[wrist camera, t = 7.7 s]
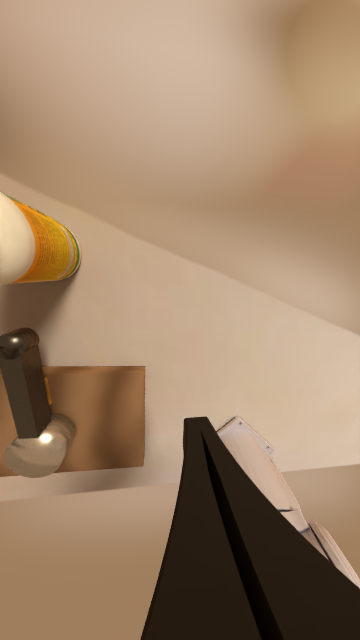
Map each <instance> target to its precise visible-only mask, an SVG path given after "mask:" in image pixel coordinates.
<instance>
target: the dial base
mask: <svg viewBox="0 0 360 640" xmlns="http://www.w3.org/2000/svg"><path fill="white" fill-rule="evenodd" d="M42 370H43V375H44V381H45V386H46V392H47V397H48V403H49V408H50V412H54V413H60V414H63V415H65V416H67V417H68V418H70V419H71V420H72V421H73V422H74V424H75V426H76V430H77V432H76V436H75V438H74V440H73V442H72V444H71V446H70V448H69V449H68V451H67V453H66V455H65V457H64V459H63V461H62V463H61V465H60V467H59V468H58V469H57V470H56V471H55V472H54V473H59V472H73V471H86V470H100V469H113V468H127V467H140V466H143V464H144V444H145V366H72V367H42ZM17 436H18V435H17V431H16V427H15V423H14V419H13V415H12V411H11V408H10V404H9V400H8V396H7V392H6V388H5V384H4V381H3V377H2V373H1V369H0V477H5V476H19V475H18V474H16V473H14V472H12V471H11V470H10V469H9V468H8V467H7V466H6V464H5V463H4V459H3V455H4V451H5V450H6V448H7V447H8V446H9V445H10V444H11V442H12V441H13V440H14V439H15V438H16V437H17Z"/></svg>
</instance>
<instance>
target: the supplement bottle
mask: <svg viewBox="0 0 360 640" xmlns="http://www.w3.org/2000/svg"><path fill="white" fill-rule="evenodd" d="M80 262H81V249H80V245H79V242H78V240H77V239H76V237H75V236H74V234H73V233H72V232H71V231H70V230H69V229H68V228H67V227H66V226H64V225H63V224H62V223H60V222H58V221H56V220H55V219H53V218H51V217H49V216H47V215H45V214H43V213H41V212H39V211H37V210H35V209H33V208H31V207H29V206H27V205H25V204H23V203H21V202H19V201H17V200H15V199H14V198H12V197H10V196H8V195H6V194H4V193H2V192H0V285H1V284H14V283H28V282H43V281H57V280H63V279H66V278H68V277H70V276H71V275H72V274H73V273H74V272H75V271H76V270H77V268H78V267H79V265H80Z"/></svg>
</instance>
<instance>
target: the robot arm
mask: <svg viewBox="0 0 360 640" xmlns="http://www.w3.org/2000/svg"><path fill="white" fill-rule="evenodd" d="M183 451H184V459H183V467H182V473H181V480H180V486H179V491H178V496H177V501H176V506H175V511H174V516H173V520H172V525H171V529H170V533H169V538H168V542H167V545H166V549H165V553H164V557H163V561H162V565H161V569H160V572H159V576H158V580H157V584H156V587H155V591H154V594H153V598H152V601H151V605H150V608H149V612H148V615H147V619H146V622H145V626H144V629H143V633H142V636H141V640H360V579H359V578H358V576H357V575H356V573H355V571H354V570H353V568H352V567H351V565H350V564H349V562H348V561H347V559H346V558H345V556H344V555H343V553H342V552H341V550H340V549H339V547H338V546H337V544H336V543H335V541H334V540H333V538H332V537H331V536H330V534H329V533H328V532H327V530H326V529H325V528H324V527H323V526H321V525H319V524H317V523H316V522H315V521H314V520H311V521H308V524H309V526H310V528H311V530H312V531H311V530H310V528H309V526H308V524H307V523H306V521H305V520H304V518H303V515H302V512H301V508H300V506H299V504H298V502H297V500H296V498H295V496H294V495H293V493H292V491H291V490H290V488H289V486H288V485H287V483H286V481H285V479H284V478H283V476H282V475H281V473H280V471H279V469H278V468H277V466H276V464H275V463H274V461H273V459H272V458H271V456H270V454H271V453H272V452H273V451H274V449H273V447H272V446H271V445H270V444H269V443H267V442H266V441H265V440H264V439H263V438H262V437H261V436H260V435H258V434H257V433H256V432H255V431H254V430H253V429H252V428H251V427H249V426H248V425H247V424H246V423H245V422H244V421H243V420H241V419H240V418H239V417H235V418H234V419H233V420H232V421H230V422H229V423H228V424H227V425H225V426H224V427H223V428H222V429H220V430H219V431H218V432H216V431H215V429H214V428H213V426H212V424H211V423H210V421H209V419H208V418H207V417H194V418H185V419H184V431H183ZM312 532H313V533H312Z"/></svg>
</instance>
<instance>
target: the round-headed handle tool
mask: <svg viewBox="0 0 360 640" xmlns="http://www.w3.org/2000/svg"><path fill="white" fill-rule="evenodd" d="M38 344H39V336H38V334H37V333H36V332H35V331H34V330H32V329H30V328H20V329H17V330H14V331H12V332H9V333H7V334H4V335H2V336H0V369H1V373H2V377H3V381H4V384H5V388H6V392H7V396H8V400H9V404H10V408H11V411H12V415H13V419H14V423H15V427H16V431H17V435H18V436H17V437H16V438H15V439H14V440H13V441H12V442H11V444H10V445H9V446H8V447H7V448H6V450H5V451H4V455H3V459H4V463H5V464H6V466H7V467H8V468H9V469H10V470H11V471H12V472H14V473H16V474H18V475H21V476H24V477H30V478H38V477H44V476H47V475H50V474H52V473H54V472H55V471H56V470H57V469H58V468H59V467H60V465H61V463H62V461H63V459H64V457H65V455H66V453H67V451H68V449H69V448H70V446H71V444H72V442H73V440H74V438H75V436H76V432H77V430H76V426H75V424H74V422H73V421H72V420H71V419H70V418H68V417H67V416H65V415H63V414H60V413H54V412H50V408H49V403H48V397H47V392H46V386H45V381H44V375H43V370H42V365H41V359H40V354H39V348H38Z"/></svg>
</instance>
